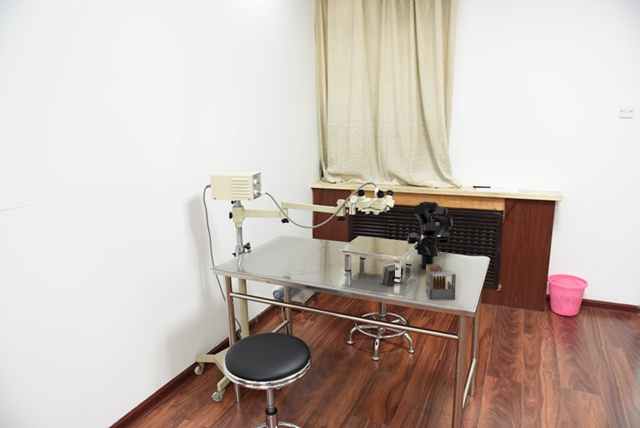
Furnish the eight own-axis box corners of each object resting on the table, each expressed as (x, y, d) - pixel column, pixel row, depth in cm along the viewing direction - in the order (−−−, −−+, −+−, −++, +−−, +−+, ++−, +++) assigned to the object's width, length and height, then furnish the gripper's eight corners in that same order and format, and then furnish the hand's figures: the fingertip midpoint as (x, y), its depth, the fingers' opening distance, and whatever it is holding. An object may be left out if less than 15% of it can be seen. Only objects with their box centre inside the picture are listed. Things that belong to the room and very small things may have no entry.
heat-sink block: (425, 281, 182) (425, 264, 181) (439, 281, 182) (439, 264, 180) (431, 293, 169) (431, 275, 167) (446, 293, 168) (446, 275, 167)
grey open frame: (425, 290, 171) (425, 267, 169) (449, 290, 170) (450, 267, 168) (429, 299, 163) (430, 274, 161) (455, 299, 162) (455, 274, 160)
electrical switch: (398, 279, 186) (399, 260, 183) (404, 283, 181) (405, 264, 178) (380, 283, 182) (381, 263, 179) (386, 287, 178) (387, 268, 175)
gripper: (408, 216, 186) (411, 246, 177) (450, 215, 184) (455, 245, 176) (406, 228, 195) (409, 258, 187) (445, 228, 194) (450, 257, 185)
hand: (430, 254), depth 183 cm, fingers closed
